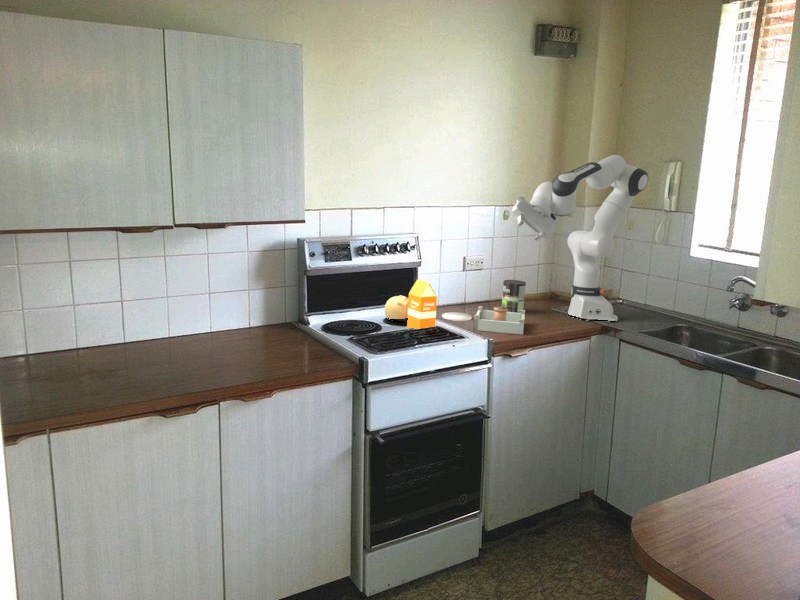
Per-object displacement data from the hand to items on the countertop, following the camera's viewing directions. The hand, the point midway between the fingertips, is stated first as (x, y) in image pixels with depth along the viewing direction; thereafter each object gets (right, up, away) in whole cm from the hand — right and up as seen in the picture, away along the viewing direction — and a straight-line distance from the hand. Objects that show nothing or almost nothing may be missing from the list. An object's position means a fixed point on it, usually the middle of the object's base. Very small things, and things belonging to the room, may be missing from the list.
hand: (528, 232), depth 270 cm
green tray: (-10, -38, +12) cm, 41 cm away
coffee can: (+1, -33, +44) cm, 55 cm away
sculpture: (-52, -36, +15) cm, 65 cm away
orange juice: (-43, -39, -1) cm, 58 cm away
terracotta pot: (-10, -38, +12) cm, 41 cm away
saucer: (-27, -35, +25) cm, 50 cm away
